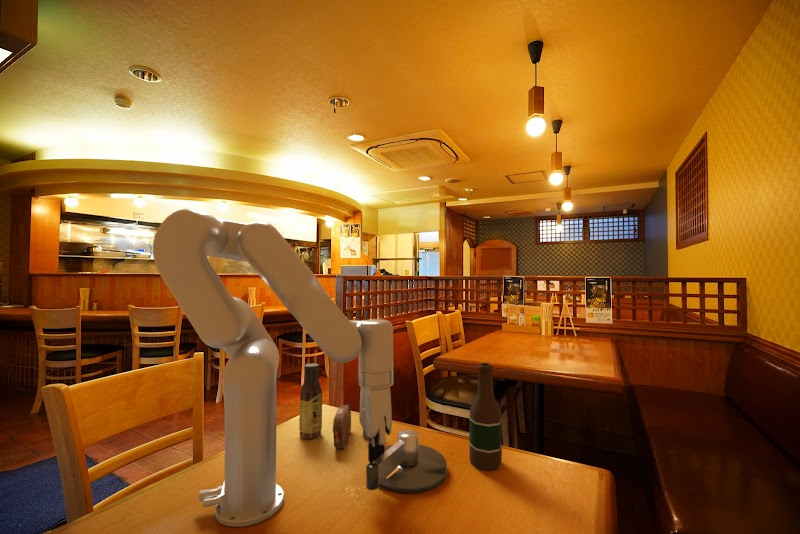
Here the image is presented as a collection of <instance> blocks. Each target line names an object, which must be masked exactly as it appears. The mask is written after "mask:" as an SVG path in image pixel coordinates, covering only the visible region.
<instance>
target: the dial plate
mask: <svg viewBox="0 0 800 534" xmlns="http://www.w3.org/2000/svg"><path fill="white" fill-rule="evenodd" d="M393 445H394V444H392V445H388V446H384V452H386V451H387V450H388V449H389V448H390V447H392V446H393ZM447 463H448V462H447V460H446V458H445V457H444V455H443V454H442V453H440V451H438V450H436V449H434V448H432V447H429V446H427V445H424V444H423V445H422V444H419V462H418V463H417V464H415V465H413V466H404V465H401V464H400V465H399V466H398V467H397V468H396V469H395V470H394V471H393V472H392V473H391V474H390V475H389V476H388V477H387V478H385V479H384V480H383V481H382V482H381V483H380V484H379V485H378V488H381V489H383V490H385V491H387V492H391V493H395V494H399V495H418V494H423V493H428V492H430V491H433V490H435V489H437V488H438V487H440V486H441V485H442V484H443V483H444V482H445V480H446V478H447V472H448V471H447V468H448V467H447Z"/></svg>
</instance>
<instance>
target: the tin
mask: <svg viewBox="0 0 800 534" xmlns="http://www.w3.org/2000/svg"><path fill="white" fill-rule="evenodd" d="M351 430H352V411H351V406H350V404H342V405H339V407H338V408H337V411H336V413H335V415H334V417H333V422H332V433H333V434H332V435H333V445H334V446H333V447H334V448H335V449H346V448H347V445H348V442H349V438H350V436H351Z"/></svg>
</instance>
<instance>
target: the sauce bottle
mask: <svg viewBox="0 0 800 534" xmlns="http://www.w3.org/2000/svg"><path fill="white" fill-rule="evenodd" d="M303 369H304V383H303V384H302V385H301V387H300V391H299V395H300V398H299V419H298V421H299V422H298V427H299V430H298V431H299V437H300V438H301V439H303V440H312V439H316V438H319V437H320V436H321V434H322V429H323V390H322V386H321V384H320V381H319V379H320V378H319V370H320V365H319V364H318V363H306V364H305V365H304V368H303Z"/></svg>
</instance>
